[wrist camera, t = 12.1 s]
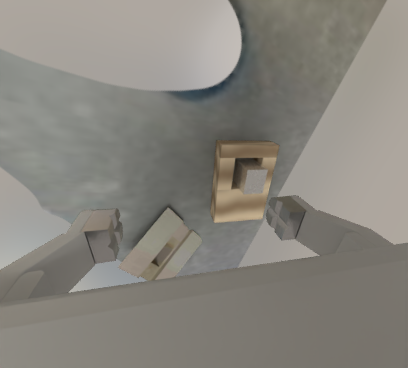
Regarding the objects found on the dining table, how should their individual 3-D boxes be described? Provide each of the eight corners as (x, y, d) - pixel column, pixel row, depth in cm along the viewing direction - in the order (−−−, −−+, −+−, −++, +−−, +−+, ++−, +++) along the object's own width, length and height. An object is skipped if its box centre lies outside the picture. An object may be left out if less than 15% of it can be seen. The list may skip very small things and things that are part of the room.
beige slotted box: (145, 200, 44) (102, 258, 37) (168, 205, 39) (122, 274, 32) (181, 232, 54) (153, 283, 47) (203, 240, 49) (174, 298, 42)
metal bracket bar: (232, 156, 39) (247, 169, 32) (249, 156, 40) (267, 169, 33) (230, 177, 41) (243, 194, 34) (246, 176, 42) (262, 193, 35)
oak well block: (216, 140, 37) (221, 145, 33) (269, 140, 39) (279, 145, 36) (210, 212, 45) (214, 222, 41) (254, 209, 47) (262, 218, 44)
